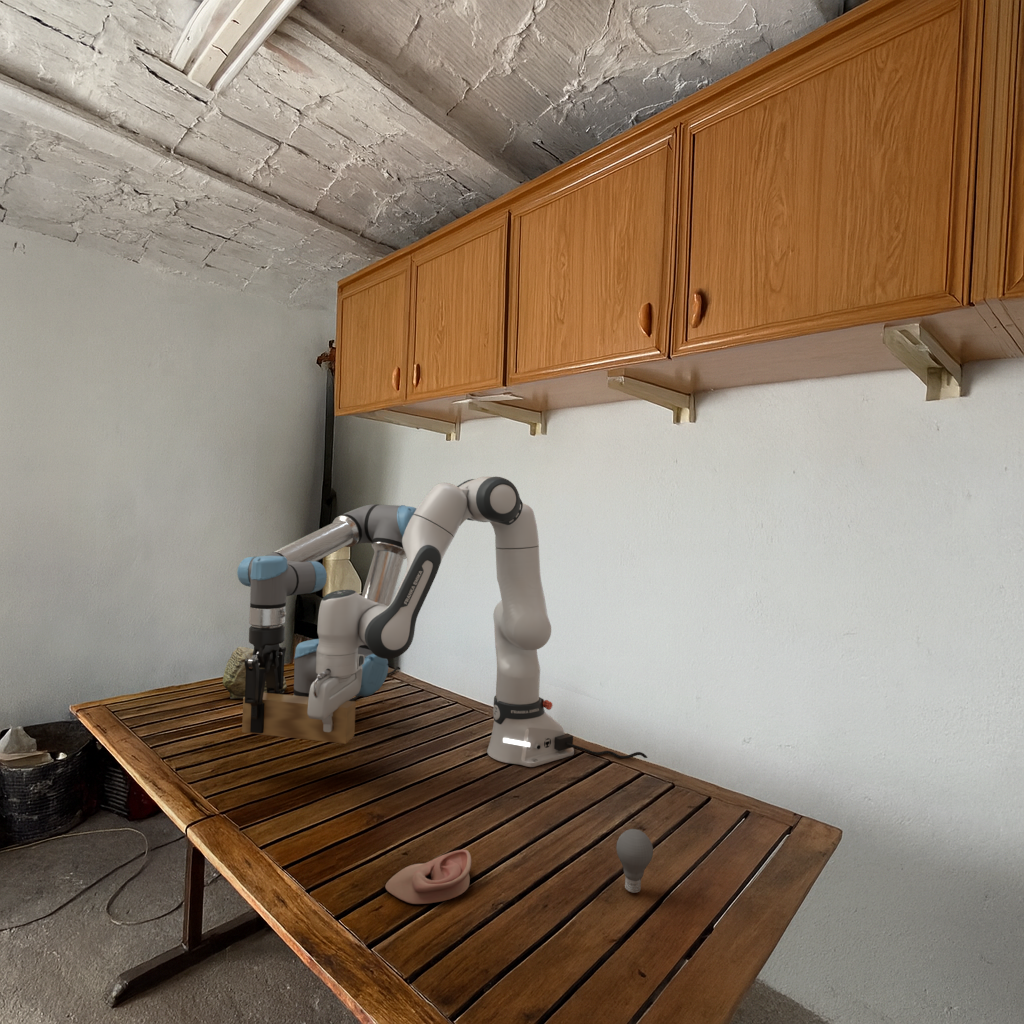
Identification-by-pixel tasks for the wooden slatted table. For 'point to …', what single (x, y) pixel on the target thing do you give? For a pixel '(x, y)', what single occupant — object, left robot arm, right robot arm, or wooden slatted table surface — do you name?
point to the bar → (300, 719)
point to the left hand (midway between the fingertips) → (263, 727)
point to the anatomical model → (432, 879)
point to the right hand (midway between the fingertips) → (334, 726)
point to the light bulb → (634, 857)
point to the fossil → (239, 673)
